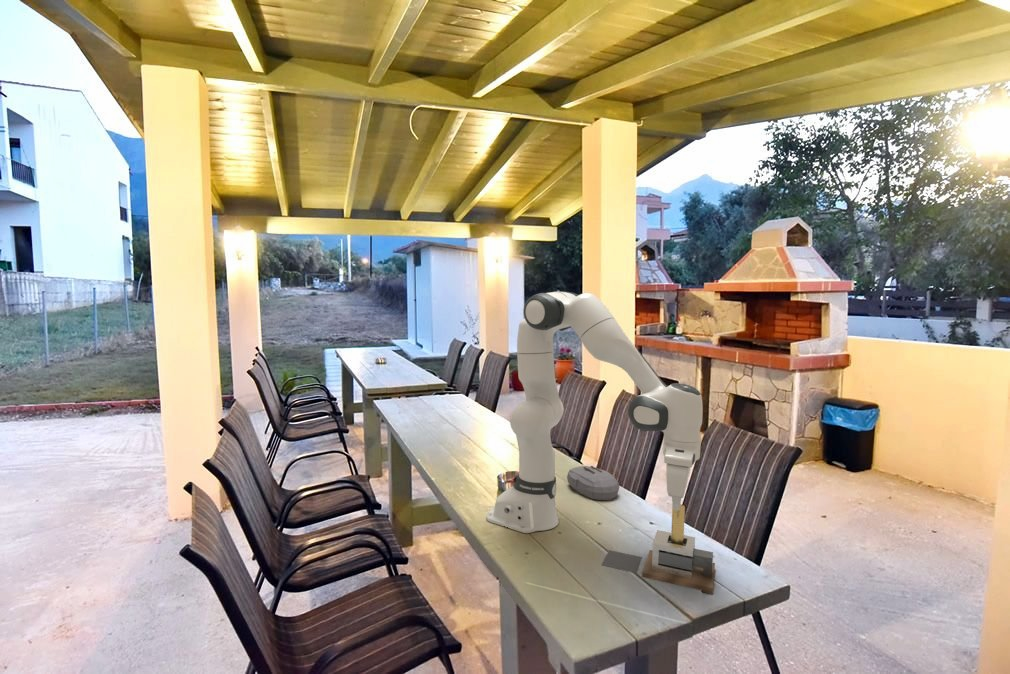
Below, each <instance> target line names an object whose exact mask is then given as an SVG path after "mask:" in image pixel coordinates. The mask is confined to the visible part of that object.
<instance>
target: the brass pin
mask: <svg viewBox="0 0 1010 674" xmlns="http://www.w3.org/2000/svg"><path fill="white" fill-rule="evenodd" d="M671 509H672V508H671ZM685 510H686V507H685V505H684V504H682V503H681V504H680V510H679V511H676V510H673V509H672V510H671V530H670V531H671V532H670V533H671V543H672V544H677V545H682V546H683V542H684V535H685V515H686V514H685V513H686V512H685Z"/></svg>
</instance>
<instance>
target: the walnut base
mask: <svg viewBox="0 0 1010 674" xmlns="http://www.w3.org/2000/svg"><path fill="white" fill-rule="evenodd" d="M652 551H653V549H649V551H648V554H647V557H646V559H645V563H644V565H643V569H642V572H641V577H642V578H647V579H652V580H656V581H659V582H664V583H670V584H674V585H678V586H680V587H681V586H682V587H686V588H691V589H695V590H699V591H701V592H702V593H704V592H705V593H704V594H709V595H714V581H715V569H716V568H715V567H716V563H715V562H713V565H712V578H709V577H704V576H703V568H699V567H694V566H693V572H692V578H688V577H683V576H679V575H674V574H670V573H665V572H660V571H656V570H652ZM701 592H700V593H701Z"/></svg>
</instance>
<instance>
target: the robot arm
mask: <svg viewBox="0 0 1010 674" xmlns="http://www.w3.org/2000/svg"><path fill="white" fill-rule="evenodd" d="M523 317H524V318H523V319H522V320H520V322H519V325H518V331H517V339H516V341H517V342H516V356H517V373H518V374H517V375H518V380H519V382H520V383H521V385H522V387H523V390H524V395H525V401H523V402H521V403H519V404H518V405H517V406H516V407H515V408H514V410H513V411H512V413H511V414H510V418H509V424H510V428H511V430H512V432H513V433H514V434H515V436H516V441H517V446H518V455H519V456H518V472H517V473H516V474H515V475H514V476H513V478H512V479H511V484H512V486H510V487H509V488H507V489H506V490H504V491H503V492H502V493H500V494H499V495H498V497H497V498H496V499H495V502H494V506H493V507H492V508H491V509H490V510H489V511H488V512H487V515H486V521H487V522H489V523H493V524H496V525H498V526H502V527H504V526H505V528H507V527H508V529H511V530H515V531H516V532H520V533H524V534H529V533H534V532H539V531H540V532H541V531H547V530H551V529H554V528H556V527H557V526H558V525H559V522H560V520H559V516H558V512H557V507H556V494H557V477H556V476H555V475H556V473H555V472H556V452H555V450H554V448H553V444H552V439H551V430H552V428H554V427H555V426H557V425H558V424H559V423H560V421H561V419H562V417H563V415H564V411H565V409H564V403H563V402H562V399H560V394H559V390H558V385H557V382H556V375H555V357H554V356H555V355H554V335H555V334H556V332H557V331H560V332H562V331H566V330H568V329H571V328H572V329H573V330H574V332H575V333H576V335H577V337H578V338H579V339H580V342H581V343H582V344H583V346H584V347H585V349H586V351H588V353H589V354H590V355H591V356H592V358H594V359H596V360H598V361H601V362H605V363H609V364H611V365H614V366H616V367H617V368H621V369H622V370H623V371H624V372H626V373H627V375H628V376H629V378H630V379H631V380H632V381H633V382H634V384H635V385H636V387H637V388H638V389H639V391H640V392H641V393H642V394H640V395H637V396H635V397H634V398H633V399H631V401H630V402H629V404H628V406H627V407H628V408H627V416H628V418H629V421H630V422H631V424H632V425H633V426H634V427H635V428H636V429H638V430H639V431H645V432H662V433H663V442H662V443H663V444H662V445H663V446H662V454H663V457H664V458H663V463H664V464H666V472H665V474H666V491H667V496H668V497H671V502H672V504H671V505H672V506H671V509H673V510H676V511H679V510H680V504H681V505H682V502H681V501H682V499H684V496H685V492H686V488H687V485H688V480H689V476H690V473H691V468H693V466H694V464H695V463H696V461H698V460H699V459H701V448H702V447H701V445H702V444H701V443H702V437H701V428H702V425H703V415H704V414H703V413H704V412H703V397H702V393H701V392H700V391H699V389H697V388H695V387H694V386H691V385H689V384H685V383H677V382H674V383H671V384H670V385H668V384H666V383H665V382H664V381H663V380H662V379H661V377H659V374H657V373H656V370H654V369H653V367H652V366H651V365H650V363H649V362H648V361H647V359H646V358H645V357H644V355H643V354H642V353H641V352H640V351H639V349H638V348H637V347H636V346H635V345H634V344H633V342H632V341H631V340H630V339H629V337H628V336H627V334H626V333H625V332H624V330H623V329H622V328H621V326H620V325H619V323H618V321H617V320H616V318H615V317H614V315H613V313H612V312H611V311H610V310H609V308H607V306H606V305H605V304H604V303H603V301H601V299H599V298H598V296H597V295H595V294H593V293H591V292H590V293H589V292H585V293H580V294H578V293H574V292H570V291H552V292H540V293H539V292H538V293H536V294H534V295H532V296H530V297H529V298H527V300H526V302H525V304H524V306H523Z"/></svg>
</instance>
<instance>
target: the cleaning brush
mask: <svg viewBox="0 0 1010 674" xmlns="http://www.w3.org/2000/svg"><path fill="white" fill-rule="evenodd" d="M566 479H567V483H568V485H569V486H570V487H571V488H572V489H573V490H574V489H575V491H576V492H577V493H578V492H579V494H580V495H582V496H584V497H586V498H589V499H592V500H597V501H609V500H613V499H616V498H617V495H618V493H619V490H620V483H619V481H618V480H617V479H616V477H615V476H614V475H613V474H611V473H610V472H608V471H607V470H604V469H602V468H598V467H594V466H593V465H590V466H589V465H582V466H576V467H573V468H571V469H569V470H568V472H567V476H566Z"/></svg>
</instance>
